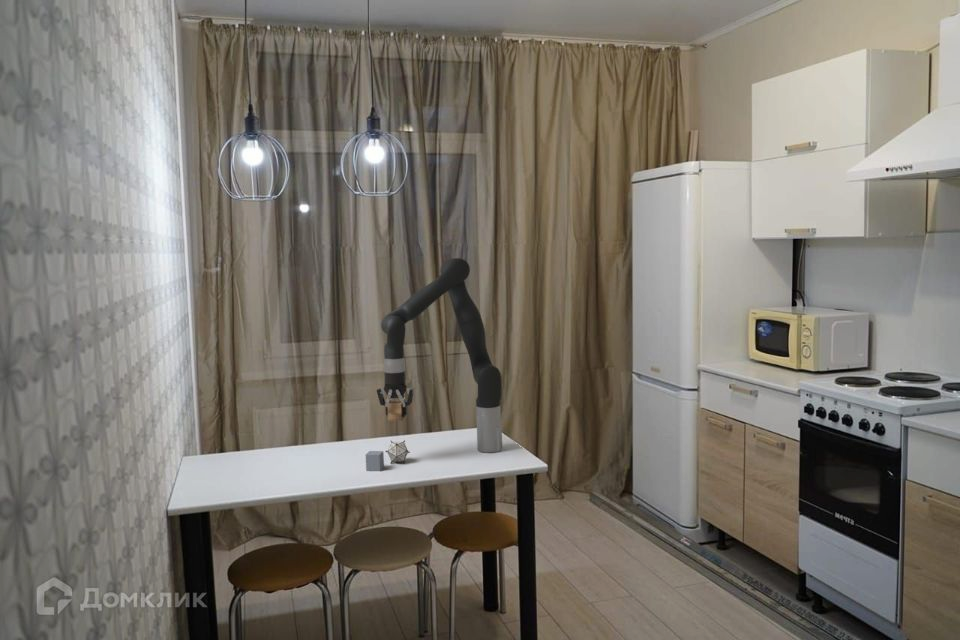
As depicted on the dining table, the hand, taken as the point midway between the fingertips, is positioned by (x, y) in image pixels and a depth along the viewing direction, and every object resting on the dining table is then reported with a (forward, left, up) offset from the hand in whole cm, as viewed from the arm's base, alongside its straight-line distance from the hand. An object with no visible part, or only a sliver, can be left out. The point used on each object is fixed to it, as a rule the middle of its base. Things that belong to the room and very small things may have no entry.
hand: (396, 416), depth 275 cm
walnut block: (0, 0, -1) cm, 1 cm away
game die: (0, 0, -17) cm, 17 cm away
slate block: (+6, +9, -17) cm, 20 cm away
